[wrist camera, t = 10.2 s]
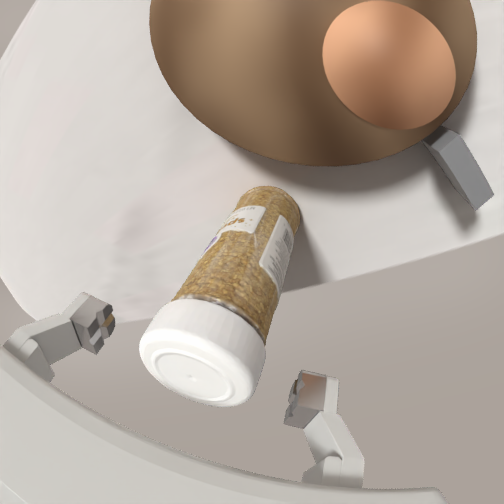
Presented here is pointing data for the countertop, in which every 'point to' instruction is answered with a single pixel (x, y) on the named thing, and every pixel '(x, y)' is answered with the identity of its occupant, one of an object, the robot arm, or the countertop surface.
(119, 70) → the countertop surface
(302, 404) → the robot arm
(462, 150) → the grey polygonal block
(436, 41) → the wooden peg stand
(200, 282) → the sprinkles bottle
